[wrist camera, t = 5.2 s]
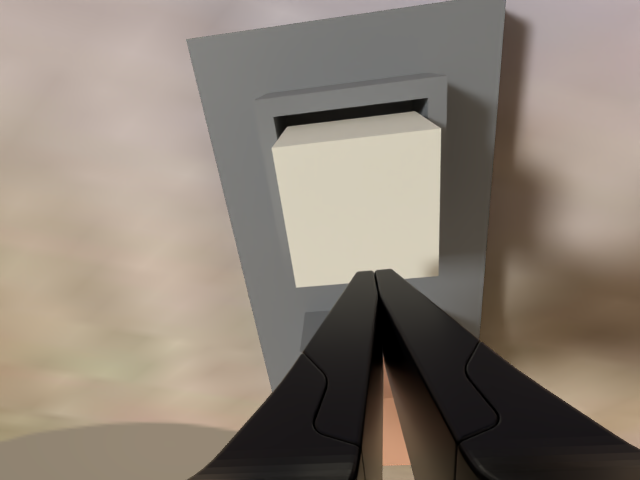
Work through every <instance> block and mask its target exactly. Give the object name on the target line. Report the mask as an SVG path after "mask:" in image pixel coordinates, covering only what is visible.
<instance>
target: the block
mask: <svg viewBox="0 0 640 480" xmlns="http://www.w3.org/2000/svg"><path fill="white" fill-rule="evenodd" d="M505 6H506V0H453V1H446V2H439V3H432V4H425V5H419V6H412V7H405V8H398V9H391V10H384V11H377V12H371V13H364V14H357V15H350V16H343V17H336V18H329V19H322V20H316V21H309V22H302V23H295V24H288V25H281V26H274V27H268V28H261V29H254V30H247V31H240V32H233V33H226V34H219V35H213V36H206V37H199V38H192V39H186V41H187V45H188V49H189V53H190V57H191V61H192V65H193V70H194V74H195V78H196V82H197V86H198V90H199V94H200V98H201V102H202V106H203V110H204V115H205V119H206V123H207V127H208V131H209V135H210V139H211V143H212V147H213V151H214V155H215V160H216V164H217V168H218V172H219V176H220V180H221V184H222V188H223V192H224V196H225V200H226V205H227V209H228V213H229V217H230V221H231V225H232V229H233V233H234V237H235V241H236V246H237V250H238V254H239V258H240V262H241V266H242V270H243V274H244V278H245V282H246V286H247V291H248V295H249V299H250V303H251V307H252V311H253V315H254V319H255V323H256V327H257V331H258V336H259V340H260V344H261V348H262V352H263V356H264V360H265V364H266V368H267V372H268V376H269V381H270V385H271V389H272V392H273V391H274V390H275V389H276V387H277V386H278V385H279V384H280V383H281V381H282V380H283V378H284V377H285V376H286V374H287V373H288V372H289V370H290V369H291V367H292V366H293V365H294V363H295V362H296V360H297V359H298V357H299V356H300V354H302V352H303V350H304V349H305V347H306V346H307V344H308V343H309V341H310V340H311V338H312V337H313V335H314V334H315V333H316V331H317V330H318V328H319V327H320V325H321V324H322V322H323V321H324V319H325V318H326V316H327V315H328V313H329V312H330V310H331V309H332V307H333V306H334V304H335V303H336V302H337V300H338V299H339V297H340V296H341V294H342V293H343V291H344V290H345V288H346V287H347V285H348V284H349V283H347V284H335V285H322V286H310V287H298V288H296V284H295V278H294V272H293V267H292V261H291V255H290V250H289V244H288V238H287V233H286V227H285V221H284V216H283V210H282V204H281V199H280V193H279V187H278V182H277V176H276V171H275V165H274V159H273V154H272V147H273V145H274V144H275V143H276V141H277V140H278V139H279V137H280V136H281V134H282V133H283V132H284V130H285V129H286V128H287V127H288V126H297V125H305V124H313V123H321V122H330V121H338V120H346V119H354V118H363V117H371V116H379V115H388V114H396V113H404V112H412V111H416V112H417V113H419V114H420V115H422V116H423V117H425V118H426V119H428V120H429V121H431V122H432V123H434V124H435V125H437V126H438V127H440V128H441V161H440V218H439V276H433V277H421V278H409V279H405V280H406V281H407V282H409V283H410V284H411V285H412V286H414V287H415V288H416V289H417V290H419V291H420V292H421V293H422V294H424V295H425V296H426V297H427V298H428V299H430V300H431V301H432V302H433V303H435V304H436V305H437V306H438V307H440V308H441V309H442V310H443V311H444V312H446V313H447V314H448V315H449V316H451V317H452V318H453V319H454V320H456V321H457V322H458V323H459V324H461V325H462V326H463V327H464V328H465V329H467V330H468V331H469V332H470V333H472V334H473V335H474V336H475V337H477V338H478V339H479V336H480V323H481V311H482V298H483V285H484V272H485V260H486V247H487V234H488V222H489V209H490V196H491V184H492V171H493V158H494V146H495V133H496V120H497V108H498V95H499V82H500V70H501V57H502V44H503V32H504V19H505Z"/></svg>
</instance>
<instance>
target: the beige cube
mask: <svg viewBox="0 0 640 480" xmlns="http://www.w3.org/2000/svg"><path fill="white" fill-rule="evenodd" d="M272 154H273V159H274V165H275V171H276V176H277V182H278V187H279V193H280V199H281V204H282V210H283V216H284V221H285V227H286V233H287V238H288V244H289V250H290V255H291V261H292V267H293V272H294V278H295V284H296V288H298V287H310V286H322V285H335V284H347V283H349V282H350V281H351V279H352V278H353V276H354V275H355V273H356V272H358V271H369V270H372V271H373V272H374V273H375V271H376V270H380V269H393V270H394V271H395V272H396V273H398V274H399V275H400V276H401V277H403V278H404V279H409V278H421V277H433V276H439V218H440V161H441V128H440V127H438V126H437V125H435V124H434V123H432V122H431V121H429V120H428V119H426V118H425V117H423V116H422V115H420V114H419V113H417V112H416V111H412V112H404V113H396V114H388V115H379V116H371V117H363V118H354V119H346V120H338V121H330V122H321V123H313V124H305V125H297V126H288V127H287V128H286V129H285V130H284V132H283V133H282V134H281V136H280V137H279V139H278V140H277V141H276V143H275V144H274V145H273V147H272Z"/></svg>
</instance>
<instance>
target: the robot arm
mask: <svg viewBox="0 0 640 480" xmlns="http://www.w3.org/2000/svg"><path fill="white" fill-rule="evenodd" d="M383 358H384V364H385V368H386V372H387V376H388V380H389V384H390V387H391V391H392V395H393V399H394V403H395V406H396V410H397V414H398V418H399V422H400V425H401V429H402V433H403V437H404V441H405V444H406V448H407V452H408V456H409V460H410V463H411V467H412V471H413V475H414V479H415V480H640V449H638V448H637V447H635V446H633V445H631V444H629V443H628V442H626V441H624V440H623V439H621V438H620V437H618V436H616V435H615V434H613V433H612V432H610V431H609V430H607V429H606V428H604V427H603V426H601V425H600V424H598V423H597V422H595V421H594V420H592V419H591V418H589V417H588V416H586V415H585V414H583V413H581V412H580V411H578V410H577V409H575V408H574V407H572V406H571V405H569V404H568V403H566V402H565V401H563V400H562V399H560V398H559V397H557V396H556V395H554V394H553V393H551V392H550V391H548V390H547V389H545V388H544V387H542V386H541V385H539V384H538V383H536V382H535V381H534V380H532V379H531V378H529V377H528V376H526V375H525V374H523V373H522V372H521V371H519V370H518V369H516V368H515V367H514V366H512V365H511V364H510V363H508V362H507V361H506V360H504V359H503V358H502V357H501V356H499V355H498V354H497V353H495V352H494V351H493V350H492V349H490V348H489V347H488V346H487V345H485V344H484V343H483V342H480V340H479V339H478V338H477V337H475V336H474V335H473V334H472V333H470V332H469V331H468V330H467V329H465V328H464V327H463V326H462V325H461V324H459V323H458V322H457V321H456V320H454V319H453V318H452V317H451V316H449V315H448V314H447V313H446V312H444V311H443V310H442V309H441V308H440V307H438V306H437V305H436V304H435V303H433V302H432V301H431V300H430V299H428V298H427V297H426V296H425V295H424V294H422V293H421V292H420V291H419V290H417V289H416V288H415V287H414V286H412V285H411V284H410V283H409V282H407V281H406V280H405V279H404V278H403V277H401V276H400V275H399V274H398V273H396V272H395V271H394V270H393V269H380V270H376V271H375V273H374V272H373V271H372V270H369V271H358V272H356V273H355V275H354V276H353V278H352V279H351V281H350V282H349V284H348V285H347V287H346V288H345V290H344V291H343V293H342V294H341V296H340V297H339V299H338V300H337V302H336V303H335V304H334V306H333V307H332V309H331V310H330V312H329V313H328V315H327V316H326V318H325V319H324V321H323V322H322V324H321V325H320V327H319V328H318V330H317V331H316V333H315V334H314V335H313V337H312V338H311V340H310V341H309V343H308V344H307V346H306V347H305V349H304V350H303V352H302V354H300V356H299V357H298V359H297V360H296V362H295V363H294V365H293V366H292V367H291V369H290V370H289V372H288V373H287V374H286V376H285V377H284V378H283V380H282V381H281V383H280V384H279V385H278V386H277V387H276V389H275V390H274V391H273V392H272V393H271V395H270V396H269V397H268V398H267V399H266V401H265V402H264V403H263V404H262V405H261V406H260V407H259V409H258V410H257V411H256V412H255V413H254V414H253V415H252V416H251V418H250V419H249V420H248V421H247V422H246V423H245V424H244V426H243V427H242V428H241V429H240V430H239V431H238V432H237V433H236V435H235V436H234V437H233V438H232V439H231V440H230V441H229V443H228V444H227V445H226V446H225V447H224V448H223V449H222V451H221V452H220V453H219V454H218V455H217V456H216V457H215V458H214V459H213V460H212V461H211V462H210V463H209V464H208V465H206V466H205V467H204V468H203V469H202V470H200V471H199V472H198V473H197V474H195V475H194V476H192V477H190V478H189V479H187V480H382V466H383V379H384V369H383Z"/></svg>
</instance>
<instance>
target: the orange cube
mask: <svg viewBox="0 0 640 480" xmlns="http://www.w3.org/2000/svg"><path fill="white" fill-rule="evenodd" d="M383 369H384V379H383V466H387V465H411V463H410V460H409V456H408V452H407V448H406V444H405V441H404V437H403V433H402V429H401V425H400V422H399V418H398V414H397V410H396V406H395V403H394V399H393V395H392V391H391V387H390V384H389V380H388V376H387V372H386V368H385V364H384V358H383Z"/></svg>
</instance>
